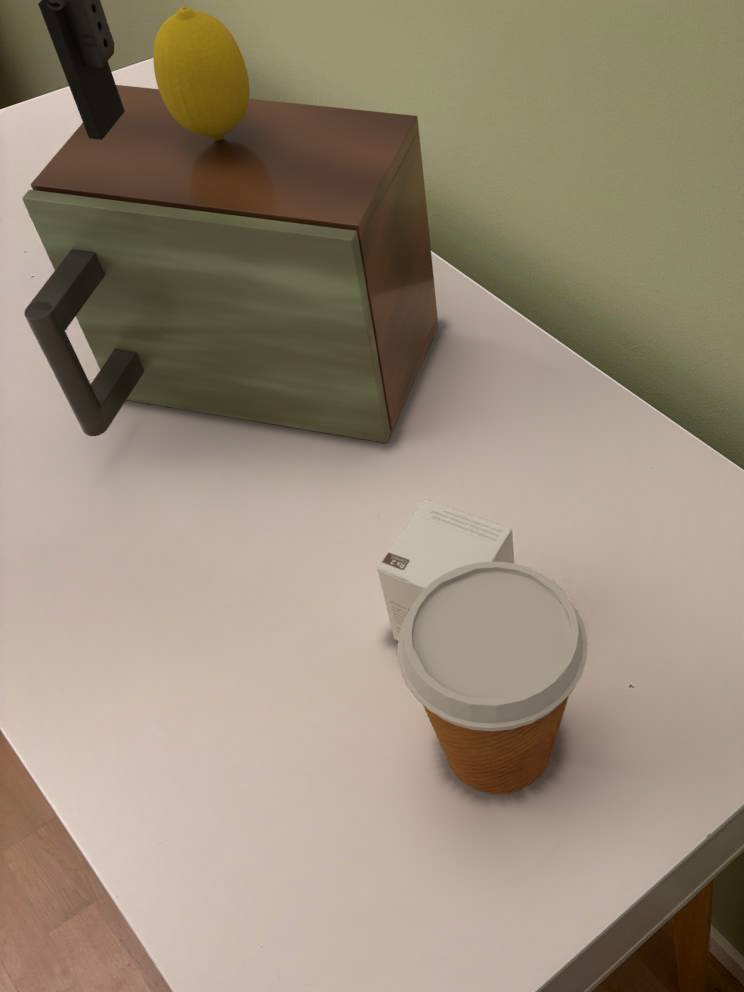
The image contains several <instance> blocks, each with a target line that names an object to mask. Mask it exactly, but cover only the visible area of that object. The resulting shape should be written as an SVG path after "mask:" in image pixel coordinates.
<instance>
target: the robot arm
mask: <svg viewBox="0 0 744 992" xmlns="http://www.w3.org/2000/svg"><path fill="white" fill-rule="evenodd" d="M37 4H38V8H39V10H40V13H41V15H42V18H43V21H44V24H45V26H46V29H47V31H48V34H49V37H50V39H51V42H52V44H53V47H54V50H55V52H56V55H57V57H58V60H59V63H60V65H61V68H62V71H63V74H64V76H65V79H66V81H67V84H68V87H69V89H70V92H71V95H72V97H73V100H74V103H75V106H76V108H77V110H78V113H79V117H80V119H81V121H82V123H83V124H84V127H85V129H86V132H87V135H88V137H89V139H98V140H102V139H103V138H104V137H105V136H106V134H107V133H108V132H109V131H110V129H111V128H112V127H113V126H114V124H115V123H116V122H117V121H118V119H119V118H120V117H121V116H122V114H123V113H124V112H125V110H124V107H123V104H122V101H121V99H120V96H119V93H118V90H117V87H116V85H117V84H116V81H115V78H114V75H113V73H112V69H111V67H110V64H109V60H110V59H111V58H112V56H113V55H114V54H115V40H114V37H113V35H112V32H111V28H110V25H109V22H108V19H107V17H106V13H105V11H104V8H103V4H102V2H101V0H40V1H39V2H38V3H37Z"/></svg>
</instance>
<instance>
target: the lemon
mask: <svg viewBox="0 0 744 992" xmlns="http://www.w3.org/2000/svg"><path fill="white" fill-rule="evenodd" d="M152 56H153V59H152V61H153V70H154V71H153V72H154V78H155V81H156V86H157V89H159V92H160V94H161V97H162V99H163V101H164V103H165V105H166V107H167V109H168V111H169V112H170V114H171V115H172V116H173V118H174V119H175V120H176V121H177V122H178V123H179V124H181V125H182V126H183V127H184V128H186V129H187V130H189V131H191V132H193V133H195V134H198V135H201V136H209V137H210V138H212V139H214V140H217V141H218V140H222V139H223V138H224V136H225V135H226V133H228V132H229V131H231V130H232V129H234V128H235V127H236V126H237V125H238V124H239V123H240V121H241V120H242V118H243V116H244V114H245V112H246V110H247V106H248V100H249V99H250V80H249V79H250V78H249V74H248V69H247V66H246V63H245V60H244V56H243V53H242V52H241V49H240V46H239V44H238V42H237V41H236V39H235V37H234V36H233V34H232V32H231V31H230V30H229V29H228V28H227V27H226V26H225V24H224V23H223V22H222V21H220V20H219V19H218V18H216V17H214V16H213V15H211V14H209V13H207V12H204V11H201V10H196V9H191V7H189V6H181V7H179V8H178V10H177V12H176V13H174V14H172V15H170V16H169V17H168V18H167V19H166V20H165V21H164V22H163V23H162V25H161V26H160V28H159V29H158V31H157V33H156V35H155V39H154V42H153V54H152Z"/></svg>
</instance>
